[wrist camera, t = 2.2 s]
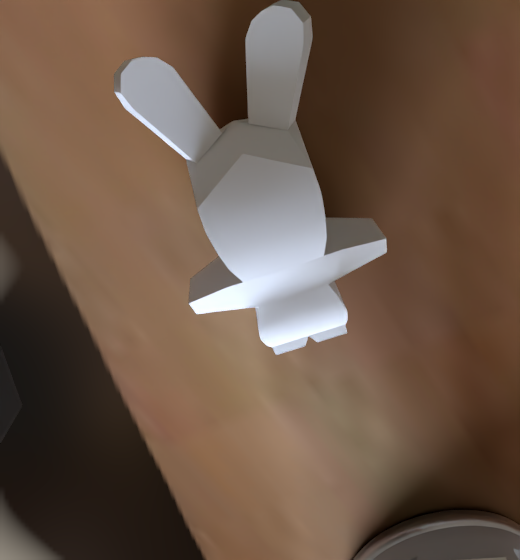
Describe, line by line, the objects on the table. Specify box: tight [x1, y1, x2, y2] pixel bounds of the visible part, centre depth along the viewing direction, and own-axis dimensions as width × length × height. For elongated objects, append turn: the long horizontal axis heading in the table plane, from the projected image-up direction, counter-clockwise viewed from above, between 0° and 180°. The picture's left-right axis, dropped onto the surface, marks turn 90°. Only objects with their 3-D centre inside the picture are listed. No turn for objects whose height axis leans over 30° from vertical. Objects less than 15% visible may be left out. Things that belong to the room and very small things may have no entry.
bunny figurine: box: [114, 0, 387, 355], centre depth 20 cm, size 10×5×15 cm
